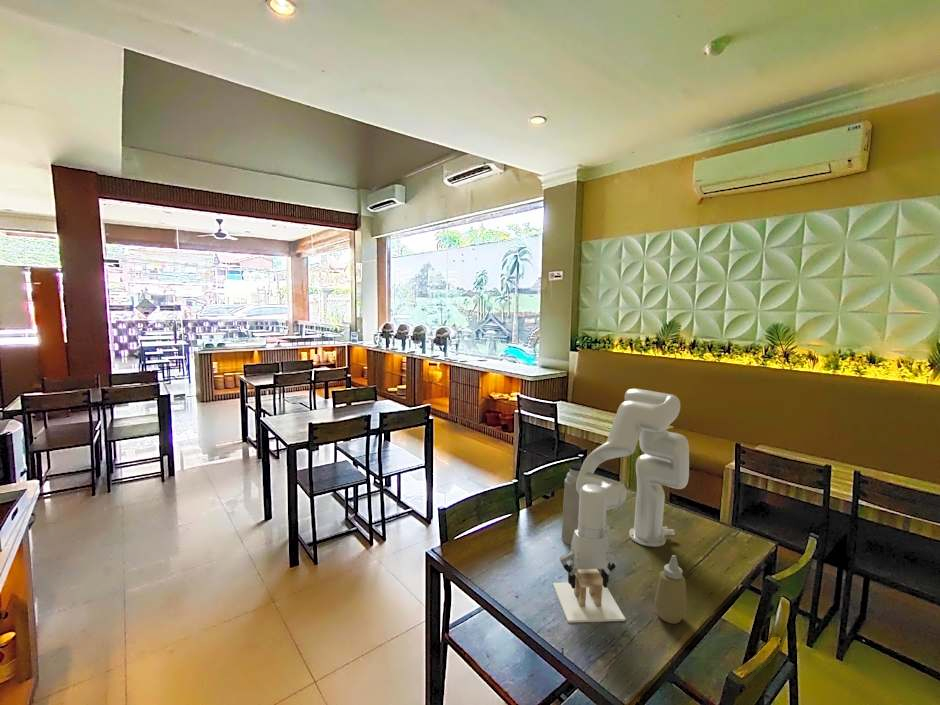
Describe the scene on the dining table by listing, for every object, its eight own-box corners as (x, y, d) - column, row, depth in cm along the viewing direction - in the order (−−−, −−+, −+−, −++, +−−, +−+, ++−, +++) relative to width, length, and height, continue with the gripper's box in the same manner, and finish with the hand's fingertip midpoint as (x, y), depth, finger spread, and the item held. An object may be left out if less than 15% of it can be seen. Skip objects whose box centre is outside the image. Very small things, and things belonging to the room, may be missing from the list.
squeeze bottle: (648, 607, 127) (652, 548, 125) (675, 606, 128) (680, 547, 126) (662, 628, 119) (667, 565, 117) (691, 626, 120) (697, 564, 118)
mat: (603, 583, 138) (603, 581, 137) (625, 620, 122) (625, 618, 122) (552, 584, 136) (552, 582, 136) (567, 622, 120) (568, 620, 120)
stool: (593, 592, 132) (595, 566, 131) (601, 606, 126) (602, 578, 125) (573, 593, 132) (575, 566, 131) (580, 607, 126) (582, 579, 125)
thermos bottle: (560, 533, 166) (564, 461, 163) (582, 534, 166) (586, 462, 162) (562, 544, 159) (566, 469, 155) (585, 546, 158) (590, 470, 154)
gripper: (615, 521, 131) (612, 576, 133) (557, 522, 129) (554, 577, 131) (626, 535, 123) (622, 593, 125) (565, 536, 122) (562, 594, 124)
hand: (587, 585), depth 128 cm, fingers open, 9 cm apart
